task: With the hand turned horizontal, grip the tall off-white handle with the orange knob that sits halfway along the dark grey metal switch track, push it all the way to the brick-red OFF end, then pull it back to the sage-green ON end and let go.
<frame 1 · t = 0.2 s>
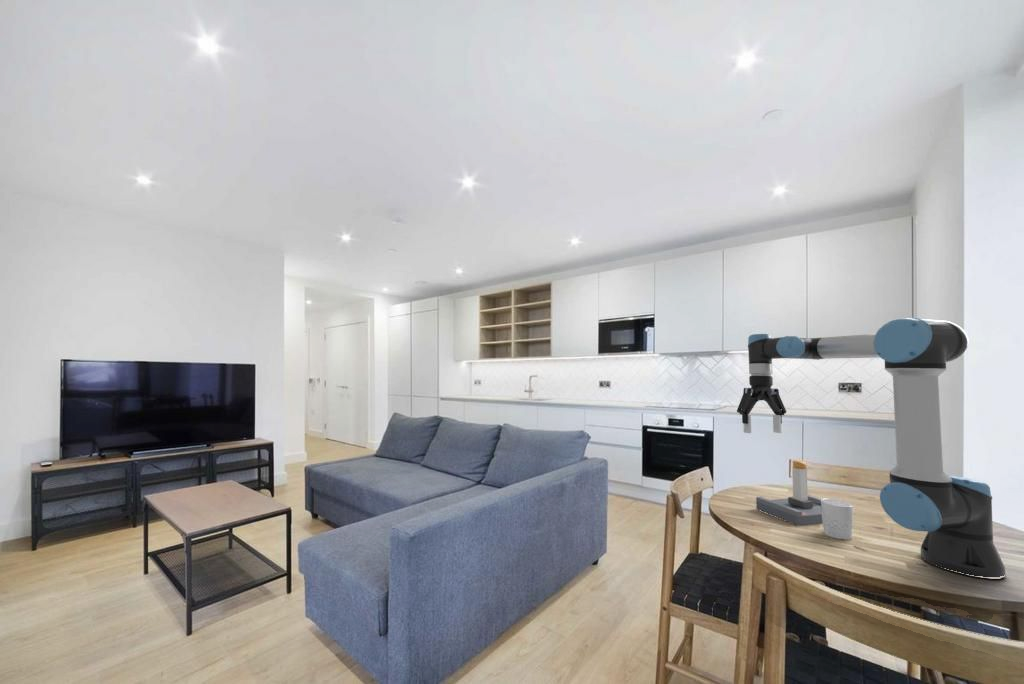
hand: (762, 432, 154), 27 cm above the table, tool pointing down, fingers open, 13 cm apart
breaker handle: (799, 483, 147), point 11 cm above the table, slide at 6.0 cm
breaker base: (800, 514, 146), on the table
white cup: (837, 536, 128), on the table
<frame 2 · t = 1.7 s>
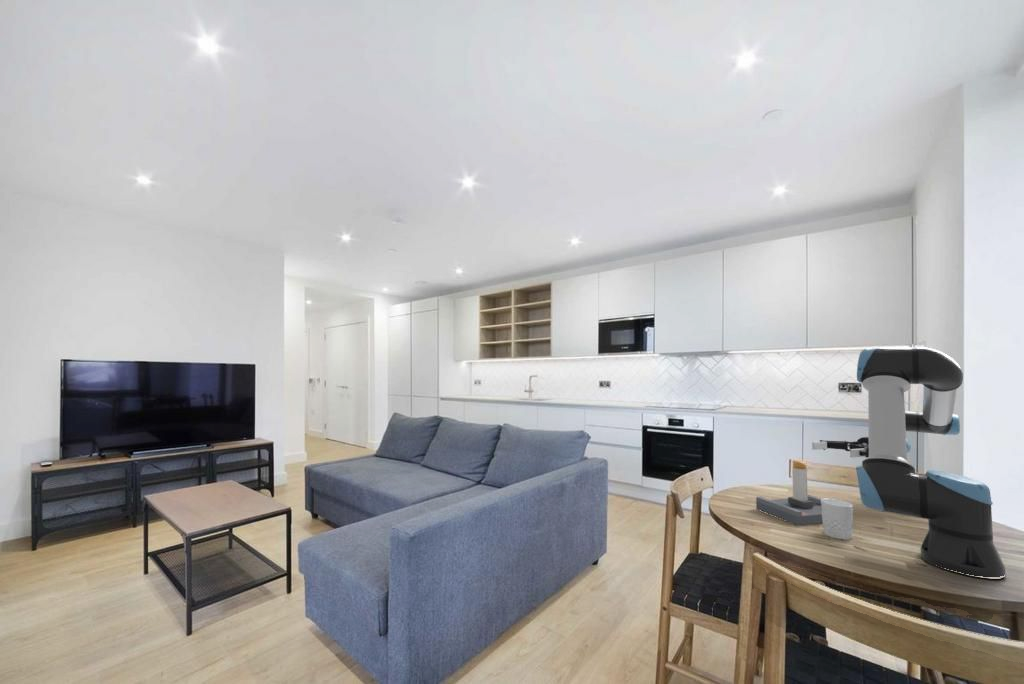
hand: (831, 449, 152), 22 cm above the table, tool horizontal, fingers open, 13 cm apart
nothing on the table moved.
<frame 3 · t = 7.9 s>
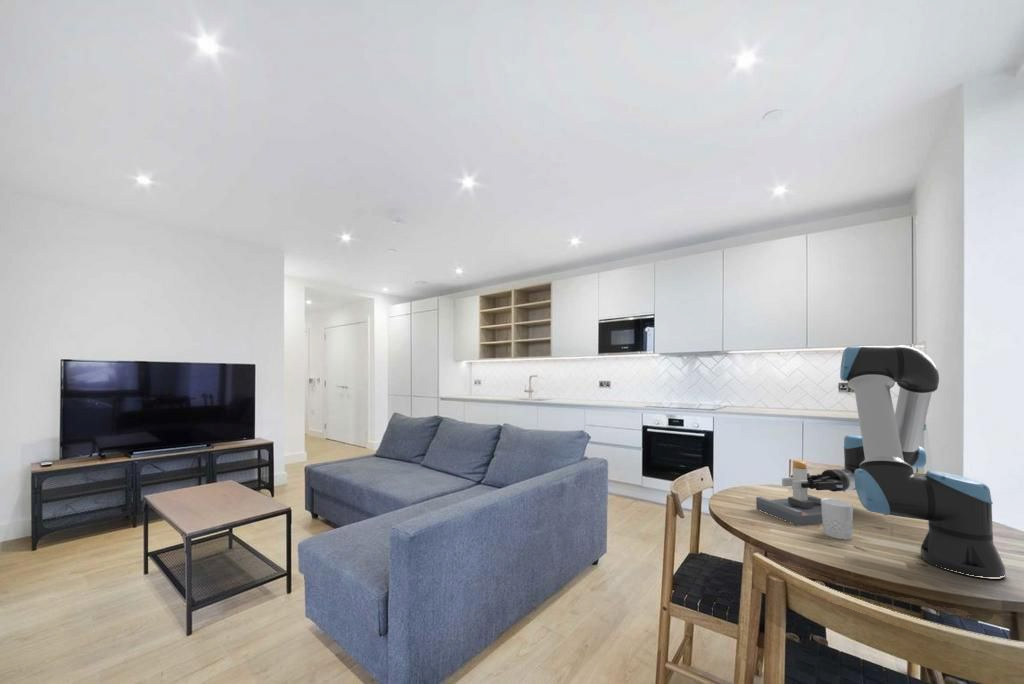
hand: (787, 483, 145), 11 cm above the table, tool horizontal, fingers closed on breaker handle, 3 cm apart
breaker handle: (800, 483, 147), point 11 cm above the table, slide at 6.0 cm, touching gripper
everything else where it was.
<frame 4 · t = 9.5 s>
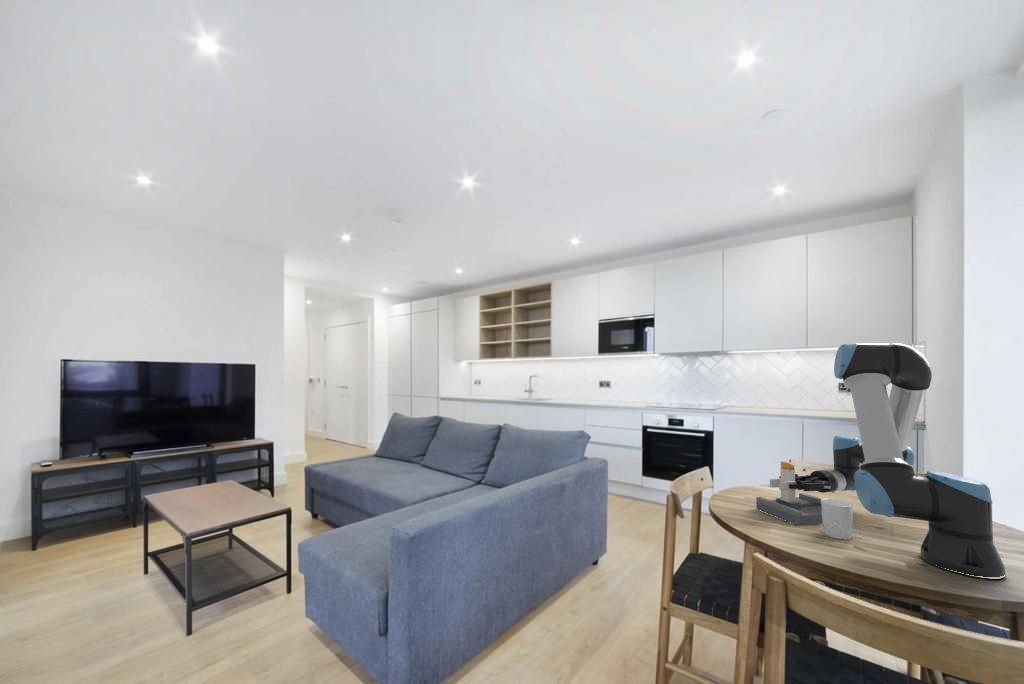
hand: (775, 484, 144), 11 cm above the table, tool horizontal, fingers closed on breaker handle, 3 cm apart
breaker handle: (787, 484, 145), point 11 cm above the table, slide at 11.5 cm, touching gripper
everything else where it was.
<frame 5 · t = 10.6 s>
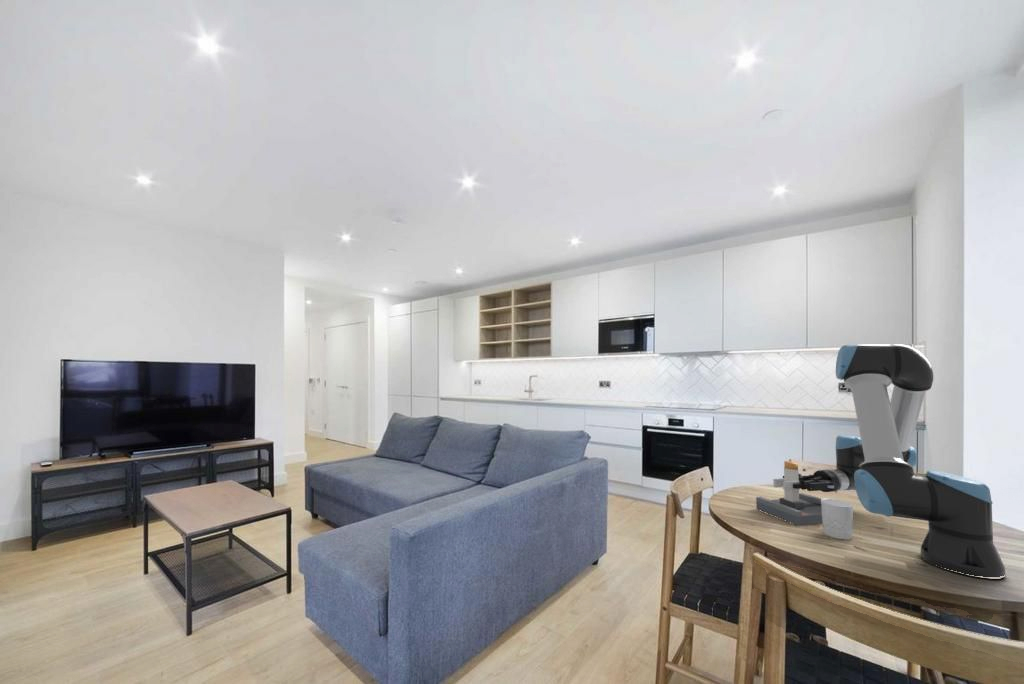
hand: (779, 484, 144), 11 cm above the table, tool horizontal, fingers closed on breaker handle, 3 cm apart
breaker handle: (791, 484, 146), point 11 cm above the table, slide at 9.8 cm, touching gripper
everything else where it was.
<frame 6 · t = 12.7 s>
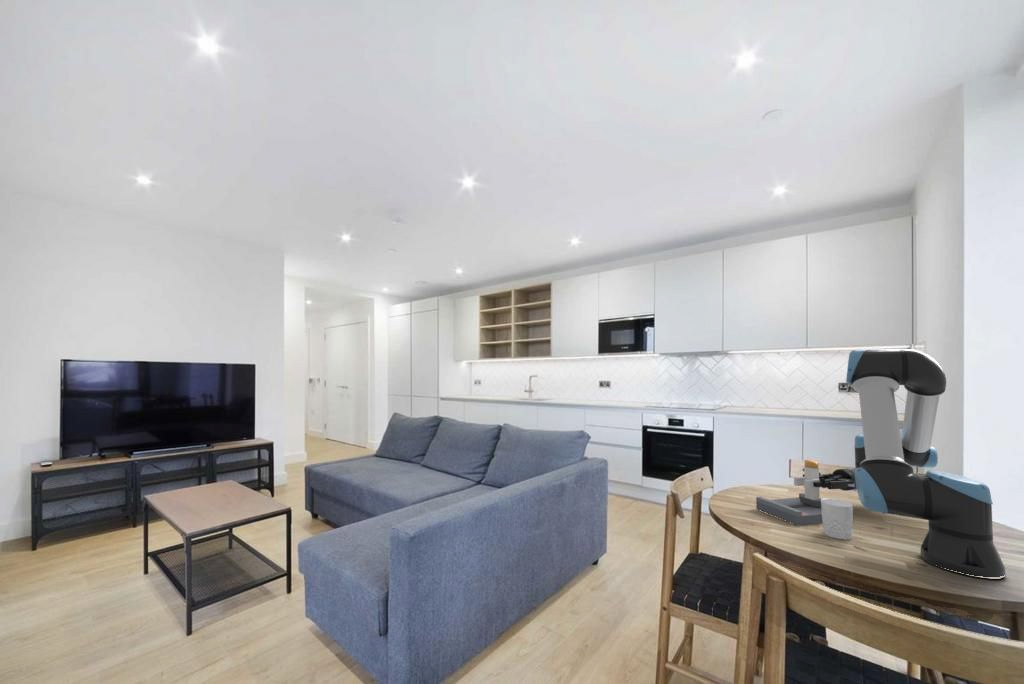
hand: (800, 482, 147), 11 cm above the table, tool horizontal, fingers closed on breaker handle, 3 cm apart
breaker handle: (811, 482, 148), point 11 cm above the table, slide at 0.5 cm, touching gripper
everything else where it was.
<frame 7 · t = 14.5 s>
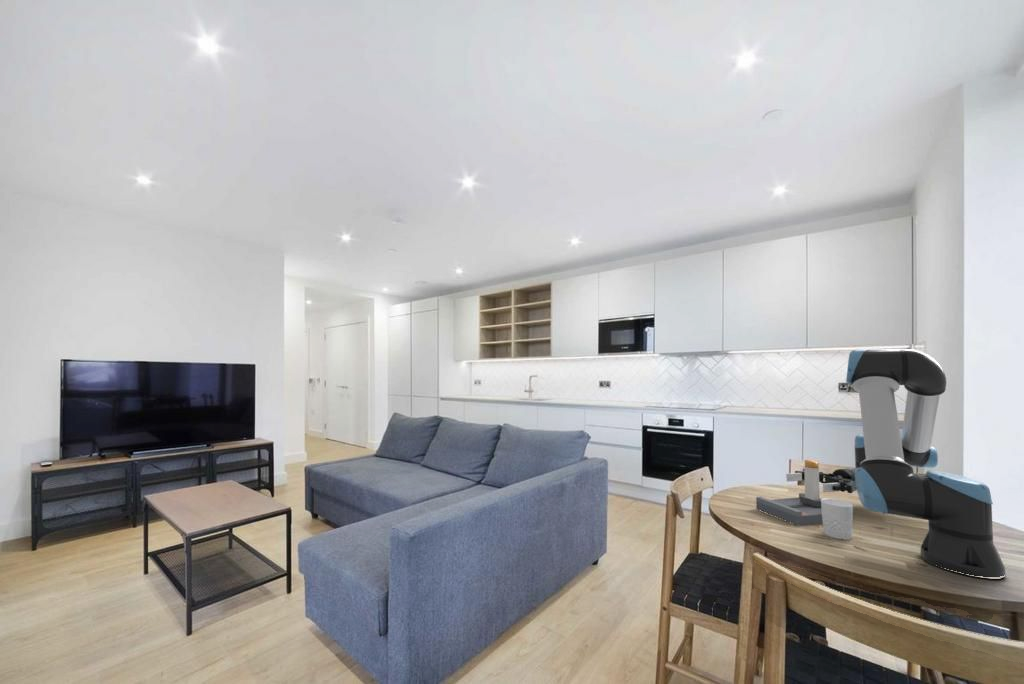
hand: (804, 482, 148), 11 cm above the table, tool horizontal, fingers open, 13 cm apart
breaker handle: (811, 482, 148), point 11 cm above the table, slide at 0.5 cm
everything else where it was.
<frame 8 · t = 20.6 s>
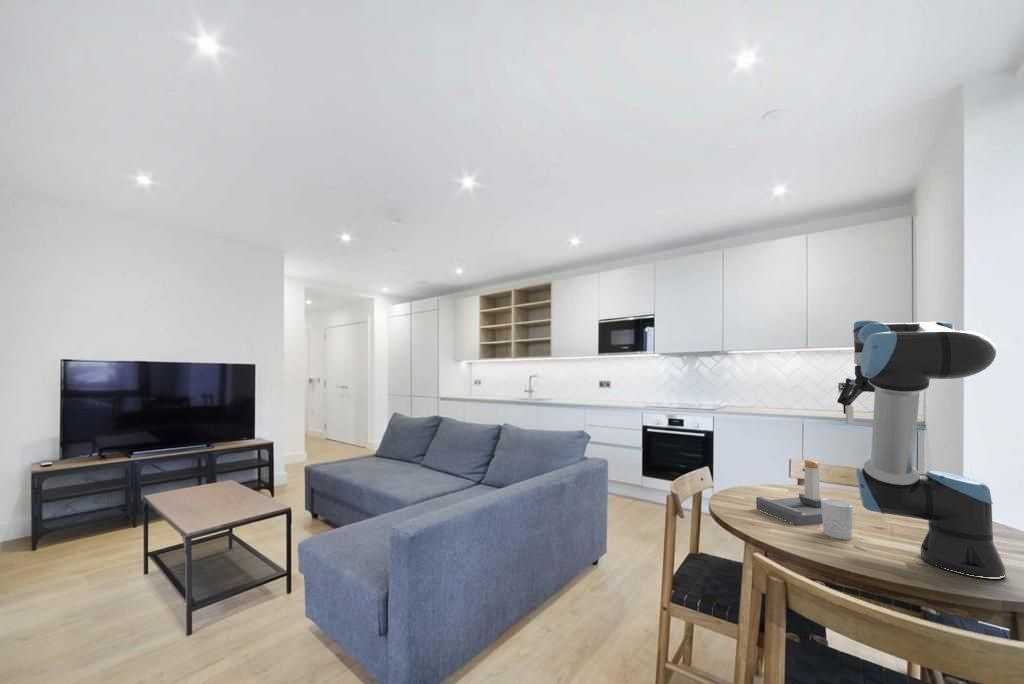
hand: (870, 426, 144), 32 cm above the table, tool pointing down, fingers open, 13 cm apart
nothing on the table moved.
at the end: breaker handle slide at 0.5 cm; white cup moved 0.2 cm from its start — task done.
